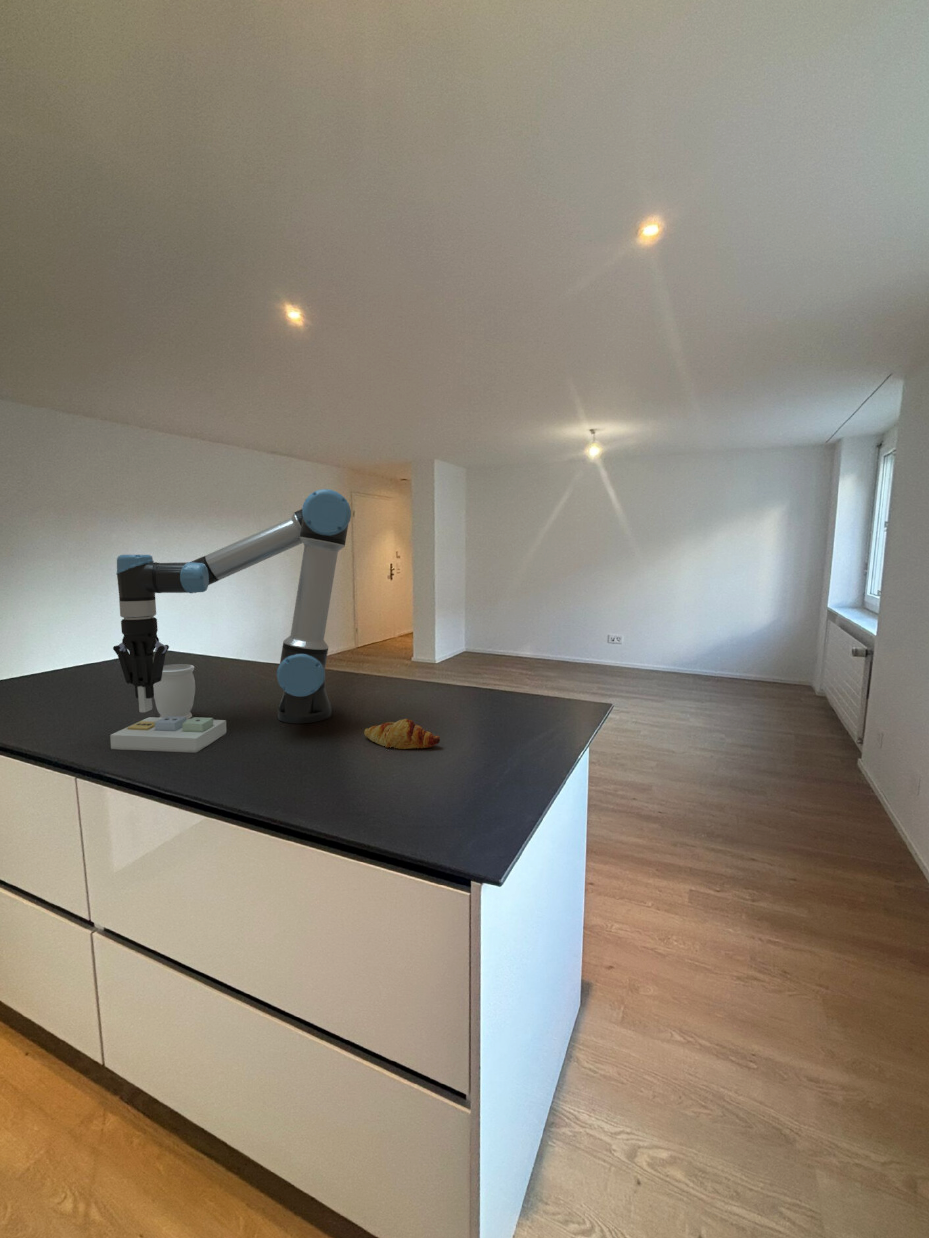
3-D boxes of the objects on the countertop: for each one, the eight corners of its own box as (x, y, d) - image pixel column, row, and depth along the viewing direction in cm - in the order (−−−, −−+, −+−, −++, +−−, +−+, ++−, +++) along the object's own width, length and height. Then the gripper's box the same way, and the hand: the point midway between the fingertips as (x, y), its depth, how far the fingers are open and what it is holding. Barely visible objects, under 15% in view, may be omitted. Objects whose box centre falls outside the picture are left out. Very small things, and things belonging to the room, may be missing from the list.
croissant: (359, 754, 132) (351, 732, 128) (374, 726, 140) (367, 705, 136) (436, 764, 126) (430, 741, 122) (448, 734, 134) (443, 712, 130)
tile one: (213, 729, 131) (213, 717, 131) (202, 735, 126) (202, 723, 126) (194, 728, 131) (193, 716, 131) (182, 735, 126) (182, 722, 126)
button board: (226, 733, 136) (226, 720, 135) (196, 752, 122) (196, 738, 121) (149, 730, 137) (148, 717, 136) (111, 749, 123) (110, 734, 122)
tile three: (160, 733, 132) (159, 721, 131) (147, 739, 127) (147, 727, 126) (141, 732, 132) (140, 720, 132) (127, 739, 127) (127, 727, 127)
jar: (183, 725, 141) (181, 671, 139) (145, 724, 141) (143, 670, 140) (203, 713, 152) (201, 664, 150) (168, 712, 152) (166, 663, 150)
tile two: (186, 728, 131) (186, 716, 131) (174, 734, 126) (174, 722, 126) (167, 727, 131) (167, 715, 131) (155, 734, 127) (154, 721, 126)
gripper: (174, 616, 129) (180, 706, 132) (124, 615, 130) (131, 706, 133) (154, 619, 122) (161, 715, 125) (102, 619, 123) (110, 714, 125)
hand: (146, 710), depth 129 cm, fingers closed
